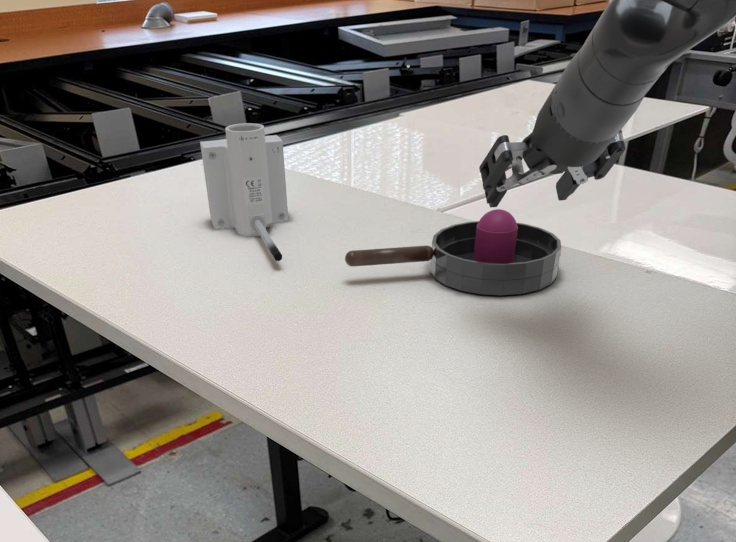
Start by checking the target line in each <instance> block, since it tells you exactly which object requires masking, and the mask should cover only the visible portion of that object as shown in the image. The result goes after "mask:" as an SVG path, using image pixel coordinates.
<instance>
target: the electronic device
mask: <svg viewBox="0 0 736 542" xmlns="http://www.w3.org/2000/svg"><path fill="white" fill-rule="evenodd" d="M224 131H225V138H223V139H216V140H215V139H214V140H204V141H199V145H200V151H201V159H202V165H203V173H204V174H203V175H204V180H205V187H206V194H207V195H206V196H207V202H208V209H209V215H210V222H211V225H212V227H213V228H214V230H223V229H230V228H233V229H235V231H236V232H237V233H238V235H241V236H243V237H261V239H262V241H263V242H264V245H266V247H267V249H268V250H269V253H270V254H271V256H272V257H273V259H274V260H275V262H280V261H281V260H283V254H282V253H281V251H280V249H279V248H278V247H277V245H276V243H275V241H274V240H273V239H272V237H271V236H270V234H269V232H268V231H267V228H272V227H273V226H272V224H273V223H274V224H277V223H282V222H289V209H288V196H287V182H286V181H287V180H286V168H285V154H284V153H285V152H284V141H283V140H282V138H281V137H279V136H278V134H273V135H266V134H265V125H263V124H261V123H255V122H254V123H252V122H246V123H235V124H230V125H228V126H226V127H225V130H224Z"/></svg>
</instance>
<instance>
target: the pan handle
mask: <svg viewBox="0 0 736 542" xmlns="http://www.w3.org/2000/svg"><path fill="white" fill-rule="evenodd" d="M433 256H434V250H433V249H432V246H430V245H413V246H397V247H387V248H385V247H384V248H371V249H357V250H356V249H355V250H350V251H347V253H346V254H345V256H344V261H345V264H346V265H348V267H351V268H353V267H367V266H369V267H370V266H381V265H393V264H394V265H395V264H408V263H422V262H423V263H424V262H429V261H430V262H431V259H432V258H433Z"/></svg>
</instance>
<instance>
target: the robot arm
mask: <svg viewBox="0 0 736 542" xmlns="http://www.w3.org/2000/svg"><path fill="white" fill-rule="evenodd" d="M735 18H736V0H611V1H610V2H609V3H608V4H607V6H606V8H605V9H604V10H603V12H602V14H600V17H599V18H598V20H597V21H596V23H595V25H594V27H593V28H592V30H591V31H590V33H589V34H588V36H587V38H586V39H585V41H584V43H583V45H582V46H581V47H580V49H579V50H578V51H577V52H576V54H575V55H574V56H573V57H572V58H571V59H570V61H569V62H568V64H567V65H566V67H565V68H564V70H563V72H562V73H561V75H560V77H559V78H558V80H557V82H556V84H555V85H554V87H553V88H552V90H551V92H550V93H549V95H548V96H547V98H546V100H545V102H544V103H543V105H542V107H541V108H540V110H539V111H538V113H537V115H536V119H535V123H534V126H533V129H532V132H531V133H529V134H528V135H527V136H526V137H524V138H523V140H522V141H517V142H516V141H515V142H514V141H513V142H510V137H509V135H508V134H503V135H500V136H498V137H497V139H496V140H495V141H494V143H493V145H492V146H491V148H490V150H489V151H488V153H487V154H486V156H485V157H484V159H482V160H483V161H482V162H481V164H480V165H479V166H478V167H479V168H478V169H479V173H480V176H481V182H482V189H483V190H484V195H485V199H486V204H488V205H489V207H490V208H497V207H498V206H499V205H500V203H501V201H502V200H503V199H504V197H505V196H506V194H507V192H508V190H509V189H511V188H512V187H514V186H516V185H517V184H519V185H521V186H524V185H526V184H528V183H529V182H531V181H533V180H535V179H537V178H538V177H541V176H545V175H550V174H551V175H559V174H562V175H561V176H560V178H559V179H558V180H557V181H556V183H555V190H556V191H555V192H556V196H557V200H558V201H560V202H561V201H566V200H568V198H569V197H570V196H572V195H573V194H574V193H575V192H576V190H577V189H578V188H579V187H580V186H581V185H584V184H585V183H586V184H587V182H588V181H589V179H590V178H593V179H594V180H596V181H598V180H602V179H604V178H605V177H606V176H607V175H608V173H609V172H610V171H611V169H612V168H613V167H614V165H615V164H616V163H617V161H618V160H619V159H620V157H622V155H623V153H625V151H626V144H625V139H624V135H623V130H622V129H623V128H624V127H625V125H626V124H627V123H628V122H629V121H630V119H631V118H632V117H633V116H634V114H635V112H636V111H637V110H638V108H639V107H640V105H641V103H642V101H643V100H644V98H645V97H646V95H647V94H648V92H649V91H650V90H651V89H652V87H653V86H654V85H655V84H656V82H657V81H658V80H659V78H661V76H662V74H664V72H666V70H667V69H668V67H670V65H672V64H673V63H674V62H675V61H676V60H678V59H679V58H680V57H682V56H684V55H685V54H686V53H688V52H689V51H690V50H692V49H693V48H694V47H696V46H697V45H698V44H700V43H701V42H704V41H705V40H706V39H708V38H709V37H710V36H712V35H714V34H715V33H717V32H718V31H720V30H721V29H723V28H724V27H725V26H726V25H728V24H729V23H730V22H732V21H733V20H734V19H735ZM523 161H524V163H525V165H526V166H527V168H528V170H527V171H525V170H524V164H523ZM509 170H511V172H512V173H511V176H509V177H507V174H506V172H507V171H509Z"/></svg>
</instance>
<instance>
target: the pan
mask: <svg viewBox="0 0 736 542" xmlns="http://www.w3.org/2000/svg"><path fill="white" fill-rule="evenodd" d="M479 221H480V220H475V221H466V222H460V223H456V224H452V225H449V226H445V227H444V228H442V229H440V230H438V231H437V232H436V233H435V234H433V235H432V240H431V247H432V249H433V250H434V256H433V258H432V259H431V260H430V271H429V272H430V273H431V274H432V275H433V278H434V279H435V280H436V281H438V282H440V283H442V285H444V286H446V287H450V288H452V289H455V290H458V291H461V292H465V293H471V294H477V295H485V296H486V295H487V296H512V295H523V294H526V293H531V292H535V291H540V290H542V289H544V288H547V287H548V286H550V285H552V283H553V282H554V281H555V280H556V278H558V277H557V276H558V270H559V264H560V259H561V253H562V241H561V239H560V238H559V237H558V236H556V234H554V233H553V232H551V231H549V230H546V229H544V228H542V227H539V226H535V225H531V224H527V223H522V222H516V223H517V226H518V231H517V239H516V247H515V255H514V263H484V262H478V261H474V250H475V238H476V227H477V224H478V222H479Z"/></svg>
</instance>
